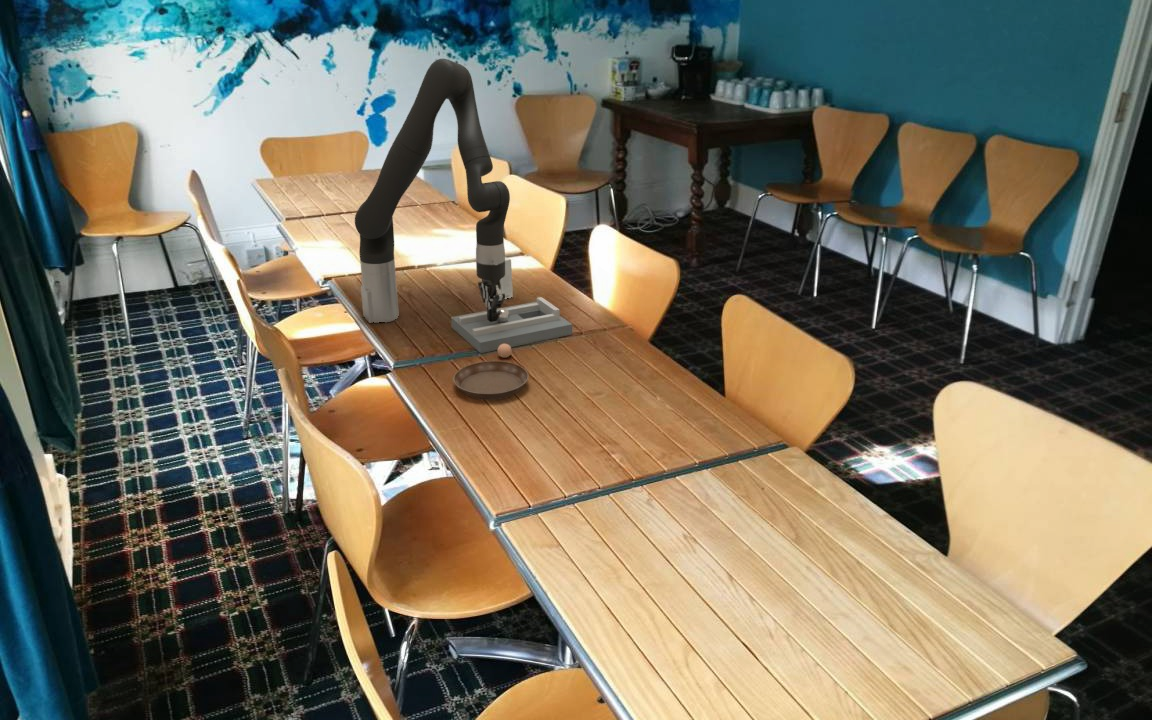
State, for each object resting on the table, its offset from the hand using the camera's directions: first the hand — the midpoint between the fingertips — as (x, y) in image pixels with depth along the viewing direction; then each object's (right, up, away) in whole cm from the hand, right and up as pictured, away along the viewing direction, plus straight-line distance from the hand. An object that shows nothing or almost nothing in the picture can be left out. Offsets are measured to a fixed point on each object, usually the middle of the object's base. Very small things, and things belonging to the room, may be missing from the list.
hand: (492, 320), depth 236 cm
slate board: (+5, -3, +4) cm, 7 cm away
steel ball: (+3, +1, +1) cm, 3 cm away
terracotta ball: (+4, -8, -12) cm, 15 cm away
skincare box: (0, +8, +29) cm, 30 cm away
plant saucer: (+2, -17, -27) cm, 32 cm away
